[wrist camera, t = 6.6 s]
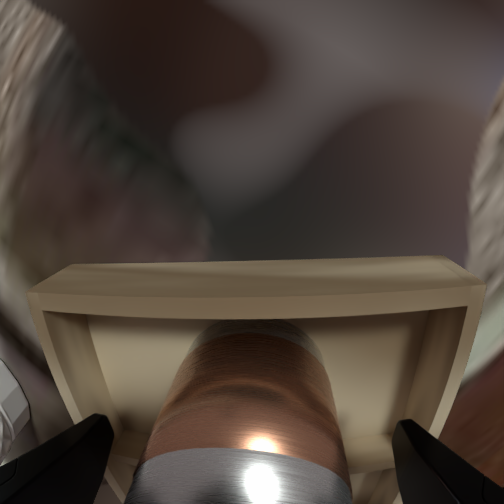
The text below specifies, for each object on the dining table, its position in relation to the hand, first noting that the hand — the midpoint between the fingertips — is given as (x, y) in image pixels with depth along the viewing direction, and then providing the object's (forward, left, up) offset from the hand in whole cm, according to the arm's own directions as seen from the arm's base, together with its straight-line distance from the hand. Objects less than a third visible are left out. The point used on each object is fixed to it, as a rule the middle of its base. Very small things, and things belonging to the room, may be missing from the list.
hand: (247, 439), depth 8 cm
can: (0, 0, -3) cm, 3 cm away
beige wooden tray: (-4, 0, -4) cm, 6 cm away
